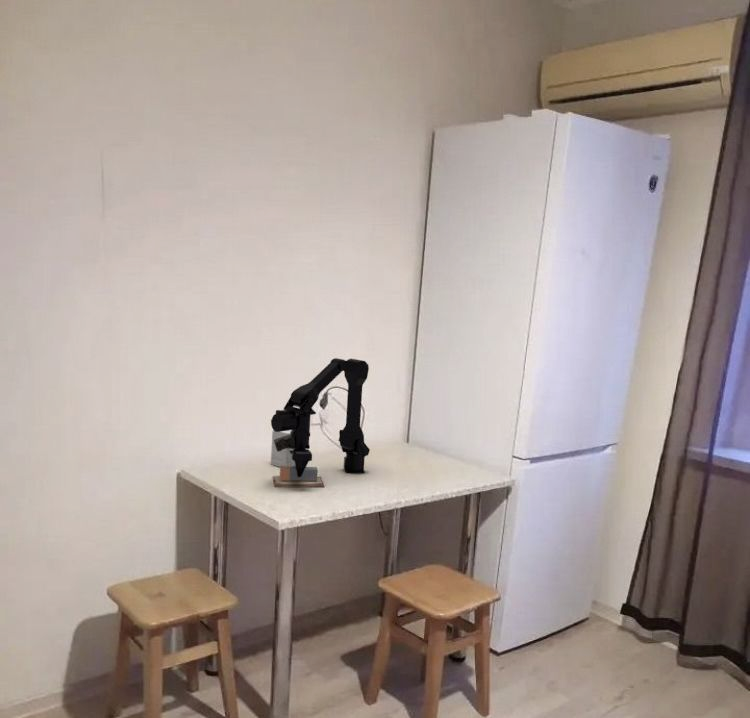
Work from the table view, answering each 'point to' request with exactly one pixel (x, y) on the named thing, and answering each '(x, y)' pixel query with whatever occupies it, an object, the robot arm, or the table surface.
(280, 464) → the supplement box
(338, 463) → the table surface
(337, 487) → the table surface
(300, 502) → the table surface
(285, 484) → the writing board
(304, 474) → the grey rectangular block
